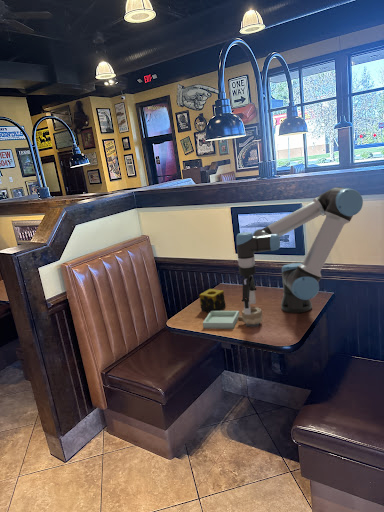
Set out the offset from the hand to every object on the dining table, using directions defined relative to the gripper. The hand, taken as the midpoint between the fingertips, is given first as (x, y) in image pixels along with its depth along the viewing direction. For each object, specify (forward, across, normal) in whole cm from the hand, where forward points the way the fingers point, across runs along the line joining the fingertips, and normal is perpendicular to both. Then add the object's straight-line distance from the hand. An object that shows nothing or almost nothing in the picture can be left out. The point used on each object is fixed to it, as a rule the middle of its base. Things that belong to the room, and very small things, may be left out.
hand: (250, 308), depth 179 cm
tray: (+8, -2, -15) cm, 18 cm away
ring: (+6, 0, -1) cm, 6 cm away
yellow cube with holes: (+9, -19, -24) cm, 32 cm away
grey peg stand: (+8, 0, +1) cm, 8 cm away
